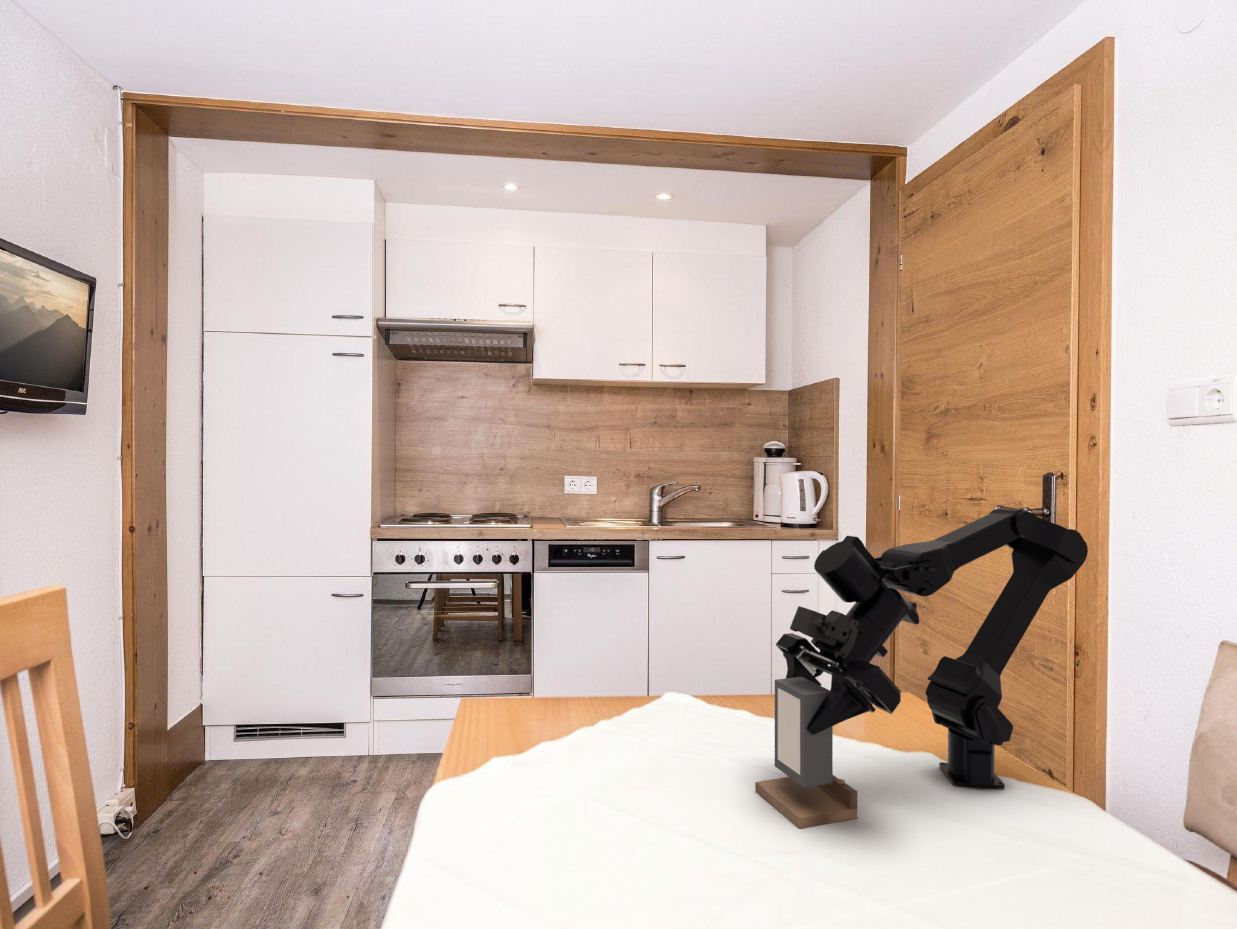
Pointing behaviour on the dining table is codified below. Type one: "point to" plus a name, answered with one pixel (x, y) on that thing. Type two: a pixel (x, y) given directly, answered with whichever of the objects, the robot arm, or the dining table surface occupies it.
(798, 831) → the dining table surface
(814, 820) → the drawer
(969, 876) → the dining table surface
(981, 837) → the dining table surface
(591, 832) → the dining table surface
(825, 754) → the grey box
